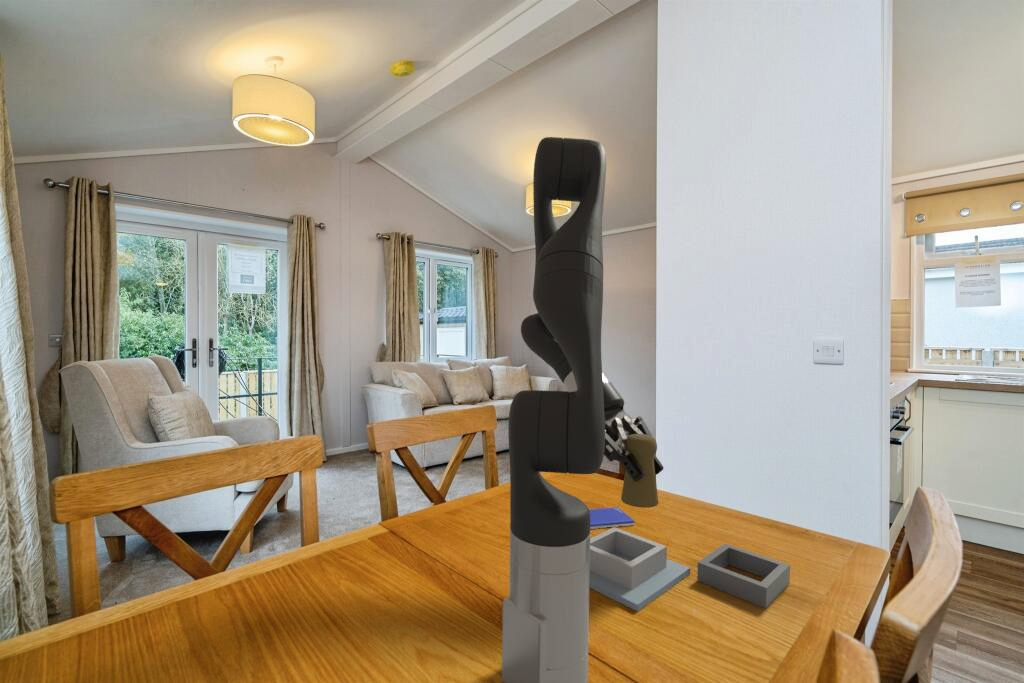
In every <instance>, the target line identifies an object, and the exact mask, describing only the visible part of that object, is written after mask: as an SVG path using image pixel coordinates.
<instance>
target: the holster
mask: <svg viewBox="0 0 1024 683" xmlns="http://www.w3.org/2000/svg"><path fill="white" fill-rule="evenodd" d="M728 566H731V567H733V568H737V569H739V570H742V571H745V572H747V573H751V574H753V575H756V576H759V577H761V578H764V579H762V580H761V581H760V580H756V579H754V578H751V577H749V576H746V575H744V574H740V573H738V572H735V571H732V570H730V569H726V568H727V567H728ZM790 576H791V564H789V563H785V562H782V561H779V560H777V559H774V558H771V557H768V556H764V555H761V554H758V553H756V552H752V551H749V550H746V549H743V548H741V547H737V546H735V545H732V544H728V543H723V544H722V545H720V546H719V547H717V548H715V549H714V551H711V552H710V553H709V554H707V555H706V556H705V557H703V558H701V559H700V560H699V561H698V562H697V580H698V581H697V580H696V581H697V582H700V583H702V584H705V585H707V586H710V587H713V588H715V589H717V590H720V591H722V592H724V593H727V594H730V595H732V596H735V597H737V598H740V599H742V600H745V601H746V602H749V603H752V604H754V605H757V606H759V607H762V608H764V609H767V608H768V607H769V606H770V605H771V604H772V603H773V602H774V601H775V600H776V599H777V598H778V596H780V594H781V593H782V592H783V591H784V590H785V589H786V588H787V587H788V586H789V585H790V582H791V581H790V580H791V577H790Z"/></svg>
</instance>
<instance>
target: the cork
mask: <svg viewBox="0 0 1024 683" xmlns="http://www.w3.org/2000/svg"><path fill="white" fill-rule="evenodd" d="M652 436H653V435H652ZM652 436H649V435H645V434H632V435H629V436H627V439H628V440H627V443H626V444H627V446H628V448H629V450H630V452H631V454H630V456H631V455H633V456H634V457H635V459H636V460H637V462H638V463H639V465H640V466H641V467H642V469H643V470H644V472H645V476H644V477H643V478H642V479H641V480H640V481H637V482H635V481H634V480H633V479H632V477H631V476H630V475H629V474H628V472H627V471H626V469H625V470H624V471H625V472H624V476H623V477H624V478H623V484H622V491H621V497H620V501H621V502H622V503H623V504H625V505H628V506H631V507H636V508H643V509H646V508H654V507H657V506H658V505H659V496H658V484H657V479H656V478H657V477H656V475H655V467H654V458H653V456H654V455H655V456H656V454H657V451H658V443H657V441H656V439H655V437H652Z"/></svg>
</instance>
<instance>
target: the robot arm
mask: <svg viewBox="0 0 1024 683" xmlns="http://www.w3.org/2000/svg"><path fill="white" fill-rule="evenodd" d="M536 148H537V149H536V152H535V157H534V164H533V182H532V185H533V186H532V188H533V192H532V193H533V198H532V199H533V228H534V231H533V232H534V247H535V248H534V249H535V261H534V262H535V264H534V280H533V290H532V298H533V299H532V300H533V304H534V306H535V309H536V311H537V312H536V313H533V314H530V315H528V316H526V317H525V318H524V319H523V320H522V321H521V324H520V334H521V337H522V340H523V342H524V344H525V345H526V346H527V347H528V348H529V350H531V351H532V352H533V353H534V354H535V355H536V356H538V357H539V358H540V359H541V360H543V361H544V362H545V363H546V364H547V365H548V366H550V367H551V369H553V370H554V372H555V373H556V374H557V376H558V378H559V379H560V381H561V383H562V384H563V385H564V387H565V390H564V391H563V390H562V391H561V390H536V389H535V390H534V389H531V390H527V389H525V390H521V391H519V392H517V393H516V394H515V395H514V397H513V399H512V401H511V403H510V406H509V407H510V408H509V412H508V413H509V414H508V425H507V426H508V430H507V431H508V453H509V454H508V456H509V458H508V459H509V475H510V476H509V478H510V479H509V480H510V482H509V483H510V490H509V491H510V493H509V494H510V496H509V498H510V499H509V500H510V501H509V502H510V505H509V506H510V507H509V508H510V510H509V511H510V514H509V515H510V517H509V519H510V523H509V525H510V526H509V527H510V530H509V534H510V535H509V587H508V588H509V594H508V596H507V597H505V598H504V599H502V600H503V601H502V627H501V628H502V637H501V638H502V639H501V641H502V642H501V643H502V644H501V646H502V648H501V651H502V652H501V681H502V682H503V683H589V682H588V680H589V632H590V631H589V630H590V628H589V626H590V620H589V619H590V588H589V575H590V538H591V529H590V512H589V510H590V509H589V507H588V505H587V504H586V503H585V502H584V501H583V500H581V499H579V497H576V496H575V495H572V494H570V493H567V492H565V491H563V490H561V489H559V488H557V487H556V486H554V485H553V484H551V483H550V482H548V480H546V479H545V477H543V476H542V474H541V473H555V474H556V473H557V474H571V475H572V474H573V475H592V474H595V473H597V472H598V471H599V470H600V468H601V466H602V464H603V460H604V458H605V457H606V459H607V460H608V461H609V462H613V461H617V462H618V463H619V464H621V465H622V466H623V468H624V469H625V470H626V471H627V472H628V474H629V475H630V476H631V477H632V479H633V480H634V481H635V482H637V481H640V480H641V479H642V478H643V477H644V476H645V472H644V470H643V469H642V467H641V466H640V465H639V463H638V462H637V460H636V459H635V457H634V456H633V455H631V456H630V454H631V452H630V450H629V448H628V446H627V444H626V443H627V440H628V439H627V436H629V435H632V434H645V435H649V436H652V437H653V435H652V433H651V431H650V429H649V427H648V426H647V423H646V422H645V420H644V418H643V417H642V416H640V415H638V416H637V417H636V418H632V417H631V416H630V415H629V414H628V413H626V411H625V410H624V406H625V400H624V398H623V397H622V396H621V394H620V392H618V390H617V389H616V388H615V386H614V385H613V383H612V381H610V379H609V378H608V376H607V375H606V373H605V372H604V371H603V365H602V363H603V362H602V323H603V303H604V302H603V301H604V300H603V299H604V256H603V255H604V253H603V252H604V251H603V250H604V249H603V213H604V201H605V189H606V188H605V187H606V177H607V155H606V150H605V148H604V146H603V144H602V143H601V142H599V141H596V140H592V139H585V138H572V137H557V136H546V137H543V138H542V139H541V140H540V141H539V143H538V145H537V147H536ZM553 201H561V202H563V201H564V202H578V203H579V204H578V206H576V207H577V208H576V209H575V211H574V212H573V213H572V215H571V216H570V217H569V218H568V219H567V221H565V222H564V223H563V224H562V225H561V226H560V227H559V228H558V226H557V222H556V220H555V217H554V213H553V205H552V204H553ZM653 438H654V437H653ZM607 446H608V448H607ZM604 456H605V457H604ZM653 458H654V467H655V476H656V475H658V474H660V473H661V472H663V470H664V466H663V464H662V462H661V461H660V460H659V458H658V457H657V455H656V454H655V455H654V456H653ZM540 472H541V473H540Z"/></svg>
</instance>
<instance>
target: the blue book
mask: <svg viewBox="0 0 1024 683" xmlns="http://www.w3.org/2000/svg"><path fill="white" fill-rule="evenodd" d="M589 512H590V530H597V529H598V528H600V529H608V528H607V527H611V528H614V527H615V528H618V527H619V526H622V527H631V525H633V526H635V524H636V522H635V520H634V518H632V517H631V516H630V515H629V514H627V512H625V511H624V510H622V509H621V508H620V507H618V506H617V507H614V506H613V507H605V508H593V509H591V508H590V509H589ZM598 530H599V529H598Z"/></svg>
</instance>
